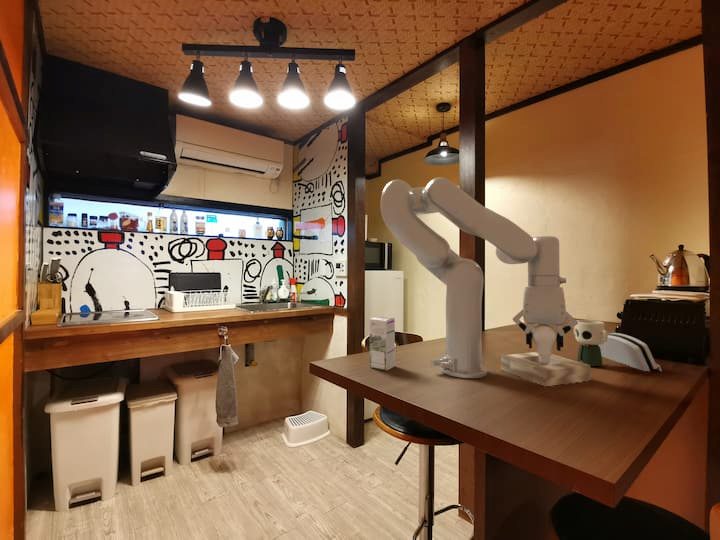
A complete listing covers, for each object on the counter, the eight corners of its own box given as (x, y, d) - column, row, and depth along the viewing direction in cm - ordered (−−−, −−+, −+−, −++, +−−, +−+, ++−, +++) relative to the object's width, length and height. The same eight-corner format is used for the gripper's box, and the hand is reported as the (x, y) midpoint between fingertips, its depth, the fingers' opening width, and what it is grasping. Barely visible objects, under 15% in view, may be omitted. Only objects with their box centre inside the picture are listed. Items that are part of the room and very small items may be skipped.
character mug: (564, 360, 103) (564, 319, 103) (583, 359, 105) (583, 318, 105) (596, 371, 93) (596, 325, 93) (617, 369, 94) (617, 324, 94)
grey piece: (663, 371, 93) (652, 338, 92) (648, 377, 93) (636, 344, 92) (614, 355, 109) (604, 327, 109) (601, 360, 109) (591, 332, 109)
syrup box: (395, 366, 98) (395, 317, 98) (386, 371, 93) (386, 319, 93) (378, 363, 101) (378, 315, 101) (368, 368, 96) (368, 318, 96)
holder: (544, 387, 80) (544, 370, 80) (500, 369, 95) (500, 355, 94) (590, 380, 85) (590, 365, 85) (541, 364, 99) (541, 351, 99)
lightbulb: (527, 361, 92) (526, 322, 92) (547, 361, 93) (547, 322, 93) (540, 368, 86) (540, 326, 86) (562, 367, 87) (562, 325, 87)
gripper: (579, 281, 89) (580, 348, 89) (509, 281, 97) (510, 342, 97) (583, 283, 82) (584, 355, 82) (508, 282, 90) (508, 348, 90)
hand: (544, 347), depth 90 cm, fingers closed on lightbulb, 6 cm apart
